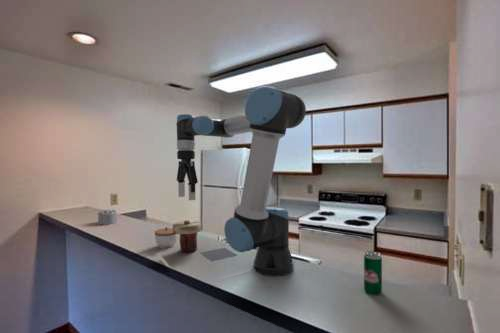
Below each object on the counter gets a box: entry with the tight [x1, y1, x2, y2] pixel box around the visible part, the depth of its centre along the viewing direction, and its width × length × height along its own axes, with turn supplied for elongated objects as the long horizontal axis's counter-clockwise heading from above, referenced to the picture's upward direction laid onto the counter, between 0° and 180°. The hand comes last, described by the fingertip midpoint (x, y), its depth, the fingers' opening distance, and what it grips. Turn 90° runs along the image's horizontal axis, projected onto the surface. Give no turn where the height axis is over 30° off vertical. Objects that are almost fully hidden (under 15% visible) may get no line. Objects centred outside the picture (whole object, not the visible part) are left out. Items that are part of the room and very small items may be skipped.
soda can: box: [363, 250, 383, 296], centre depth 83 cm, size 5×5×12 cm
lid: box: [172, 220, 202, 235], centre depth 119 cm, size 12×12×4 cm
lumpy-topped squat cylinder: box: [97, 209, 118, 226], centre depth 180 cm, size 10×13×9 cm
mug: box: [179, 232, 199, 254], centre depth 119 cm, size 12×9×10 cm
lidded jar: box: [154, 226, 179, 249], centre depth 129 cm, size 11×11×9 cm
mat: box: [200, 247, 238, 262], centre depth 115 cm, size 12×12×1 cm
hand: (186, 198), depth 119 cm, fingers open, 13 cm apart
